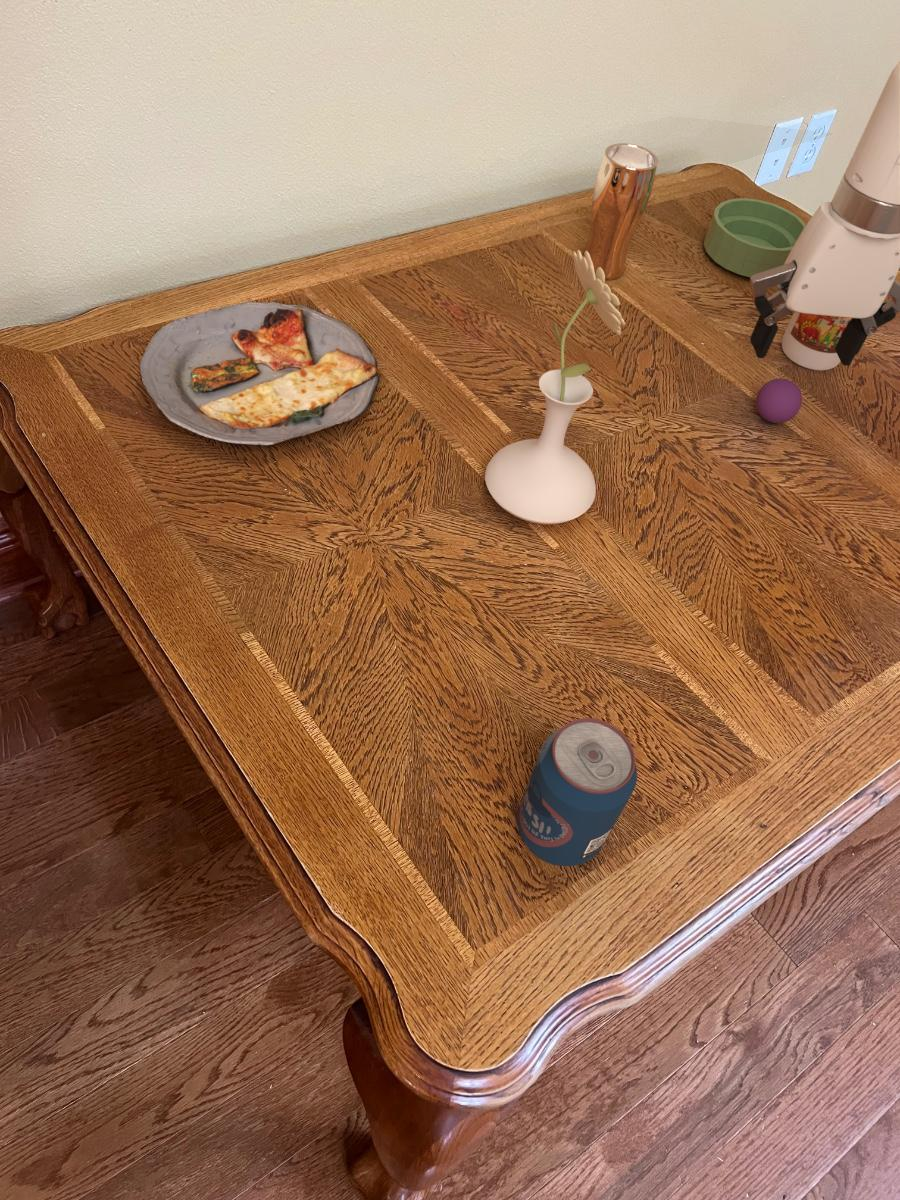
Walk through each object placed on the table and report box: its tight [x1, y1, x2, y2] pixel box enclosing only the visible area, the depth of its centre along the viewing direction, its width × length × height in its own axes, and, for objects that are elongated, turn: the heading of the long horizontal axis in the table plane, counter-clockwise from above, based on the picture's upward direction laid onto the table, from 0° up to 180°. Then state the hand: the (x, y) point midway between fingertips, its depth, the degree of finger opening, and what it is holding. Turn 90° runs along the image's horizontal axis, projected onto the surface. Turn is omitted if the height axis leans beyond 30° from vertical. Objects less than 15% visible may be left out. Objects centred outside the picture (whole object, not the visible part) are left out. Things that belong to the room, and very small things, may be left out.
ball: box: [755, 377, 803, 424], centre depth 107 cm, size 5×5×5 cm
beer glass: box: [581, 142, 659, 281], centre depth 120 cm, size 7×7×15 cm
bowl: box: [703, 197, 807, 279], centre depth 130 cm, size 13×13×5 cm
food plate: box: [139, 301, 381, 446], centre depth 101 cm, size 25×23×4 cm
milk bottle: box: [781, 312, 852, 371], centre depth 111 cm, size 8×8×20 cm
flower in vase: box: [484, 249, 626, 525], centre depth 87 cm, size 13×11×25 cm
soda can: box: [516, 717, 638, 867], centre depth 68 cm, size 7×7×12 cm
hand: (799, 354), depth 102 cm, fingers open, 9 cm apart
